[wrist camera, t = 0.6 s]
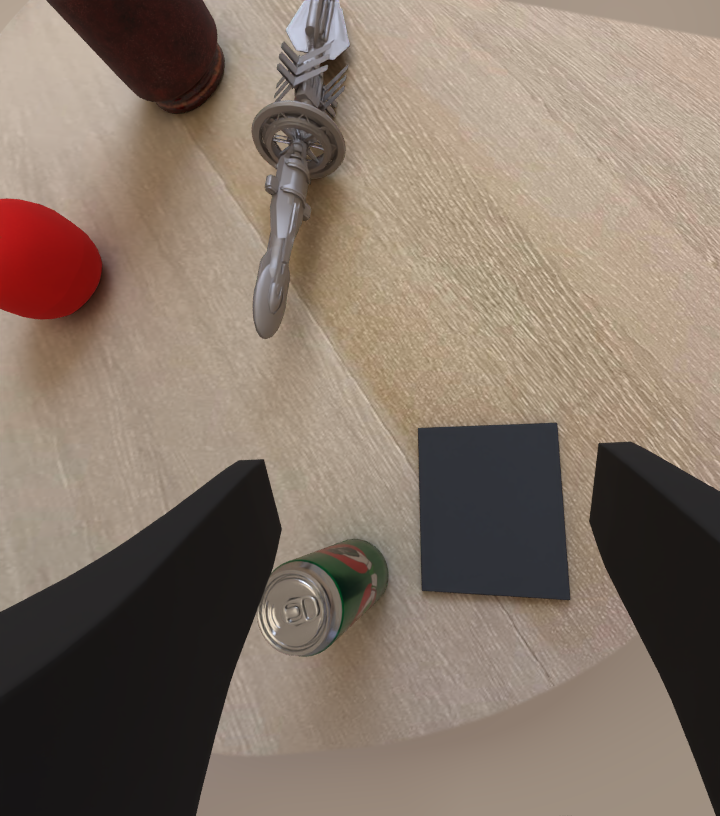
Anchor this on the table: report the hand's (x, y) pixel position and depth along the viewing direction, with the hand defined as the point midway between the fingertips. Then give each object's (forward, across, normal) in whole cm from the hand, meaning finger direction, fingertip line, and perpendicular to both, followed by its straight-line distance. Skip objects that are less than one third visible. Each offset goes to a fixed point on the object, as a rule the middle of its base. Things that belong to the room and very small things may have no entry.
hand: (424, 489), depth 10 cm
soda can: (+18, +6, +21) cm, 28 cm away
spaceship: (+39, +9, -7) cm, 40 cm away
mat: (+19, -4, +16) cm, 25 cm away
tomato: (+38, +36, 0) cm, 52 cm away
